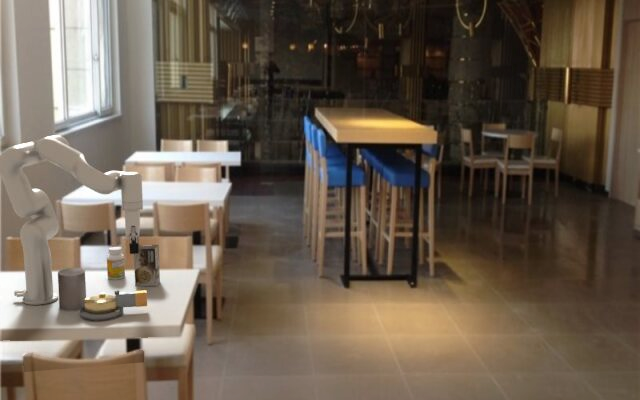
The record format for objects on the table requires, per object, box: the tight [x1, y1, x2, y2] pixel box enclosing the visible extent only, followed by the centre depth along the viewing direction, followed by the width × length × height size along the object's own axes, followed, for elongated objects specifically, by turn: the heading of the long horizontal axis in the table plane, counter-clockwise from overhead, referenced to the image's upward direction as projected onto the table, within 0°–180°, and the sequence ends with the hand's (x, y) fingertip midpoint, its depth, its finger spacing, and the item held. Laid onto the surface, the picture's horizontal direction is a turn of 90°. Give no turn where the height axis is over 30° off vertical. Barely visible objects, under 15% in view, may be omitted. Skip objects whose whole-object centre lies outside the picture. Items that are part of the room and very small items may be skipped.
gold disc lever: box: [84, 290, 148, 314], centre depth 258 cm, size 22×12×6 cm, turn 103°
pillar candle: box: [57, 267, 87, 312], centre depth 265 cm, size 10×10×15 cm
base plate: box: [79, 307, 124, 323], centre depth 258 cm, size 15×15×2 cm
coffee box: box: [133, 244, 161, 287], centre depth 293 cm, size 9×6×16 cm
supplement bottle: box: [106, 246, 126, 281], centre depth 302 cm, size 7×7×13 cm
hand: (134, 250), depth 267 cm, fingers open, 9 cm apart
